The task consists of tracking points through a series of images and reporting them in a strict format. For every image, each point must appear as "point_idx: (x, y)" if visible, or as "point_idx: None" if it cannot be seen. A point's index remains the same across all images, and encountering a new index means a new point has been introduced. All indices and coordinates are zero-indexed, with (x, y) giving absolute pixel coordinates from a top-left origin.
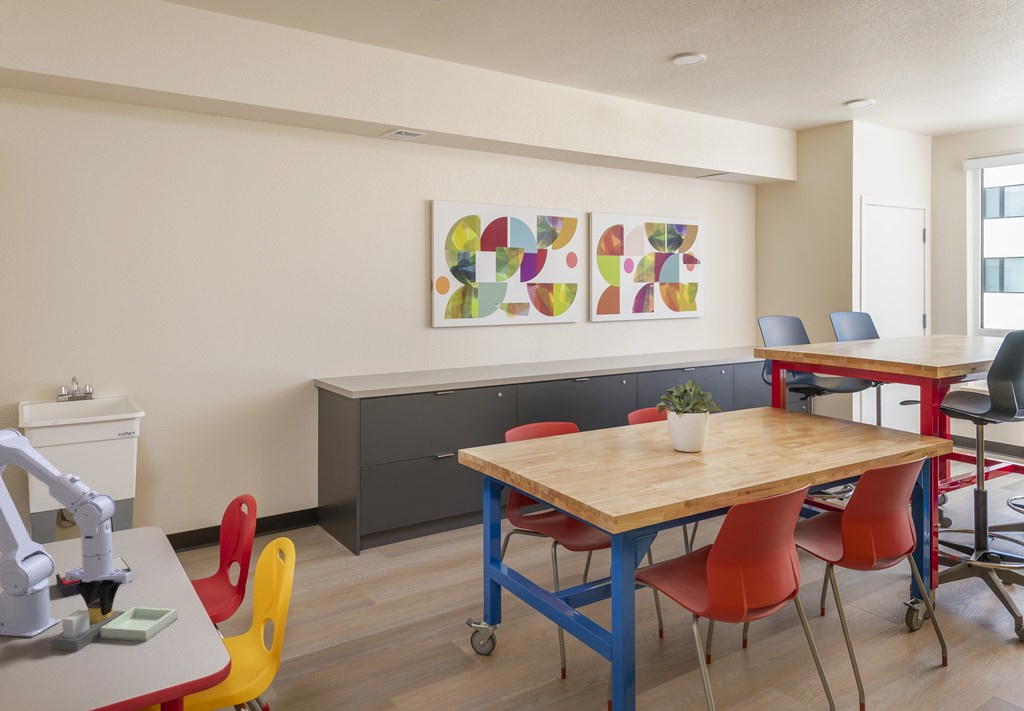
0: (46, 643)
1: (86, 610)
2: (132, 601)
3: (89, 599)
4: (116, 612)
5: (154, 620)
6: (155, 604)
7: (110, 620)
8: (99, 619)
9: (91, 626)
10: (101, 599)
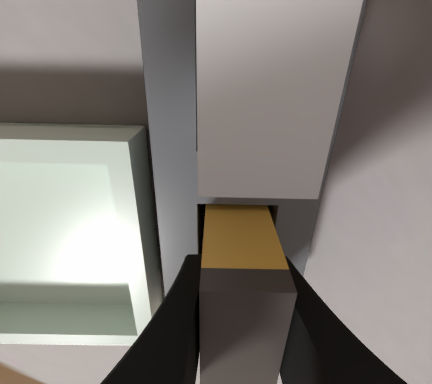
0: (421, 31)
1: (224, 196)
2: None
3: (307, 345)
4: None
5: (32, 283)
6: None
7: (159, 236)
8: (204, 224)
9: None
10: (168, 347)
